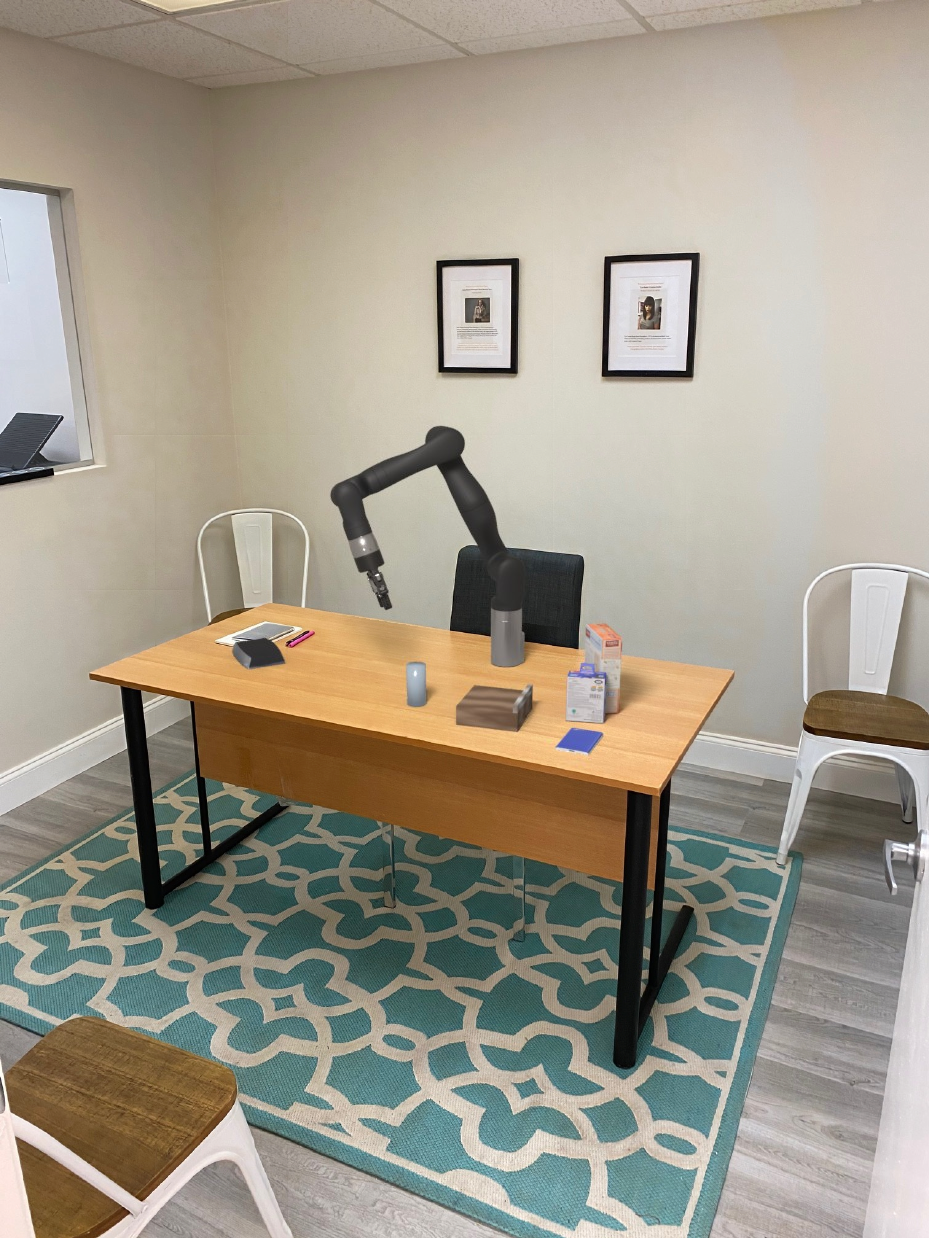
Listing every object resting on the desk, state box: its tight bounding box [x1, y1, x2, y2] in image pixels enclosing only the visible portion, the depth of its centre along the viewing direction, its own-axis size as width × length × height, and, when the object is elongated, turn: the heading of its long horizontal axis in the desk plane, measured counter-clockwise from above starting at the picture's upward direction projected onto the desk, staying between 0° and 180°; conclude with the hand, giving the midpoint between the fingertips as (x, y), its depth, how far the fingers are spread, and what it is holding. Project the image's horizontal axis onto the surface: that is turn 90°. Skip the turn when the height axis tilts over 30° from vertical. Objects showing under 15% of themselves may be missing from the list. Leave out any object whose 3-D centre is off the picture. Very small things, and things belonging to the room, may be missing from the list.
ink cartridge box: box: [565, 662, 607, 724], centre depth 239 cm, size 10×6×14 cm, turn 78°
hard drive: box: [554, 727, 604, 756], centre depth 227 cm, size 2×8×12 cm
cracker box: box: [583, 622, 623, 715], centre depth 247 cm, size 14×6×21 cm, turn 9°
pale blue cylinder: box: [405, 661, 427, 708], centre depth 250 cm, size 5×5×11 cm
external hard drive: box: [231, 637, 287, 670], centre depth 289 cm, size 13×19×4 cm
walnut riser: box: [455, 683, 534, 733], centre depth 242 cm, size 16×16×7 cm
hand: (386, 607), depth 257 cm, fingers open, 8 cm apart
